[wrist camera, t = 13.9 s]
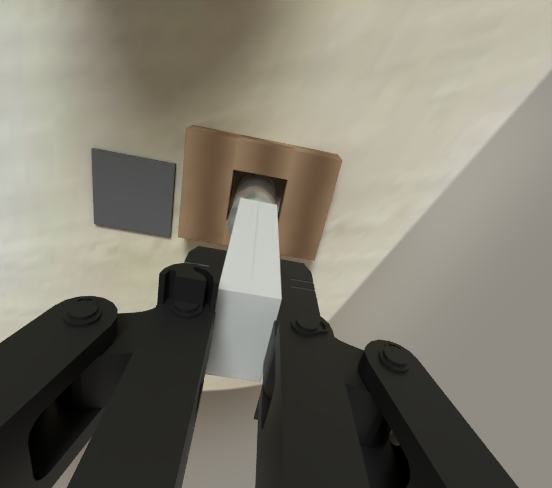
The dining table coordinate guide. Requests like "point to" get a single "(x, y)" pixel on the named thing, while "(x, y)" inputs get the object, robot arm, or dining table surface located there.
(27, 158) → the dining table surface
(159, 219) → the pad
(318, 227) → the jig
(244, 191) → the brushed steel cylinder
